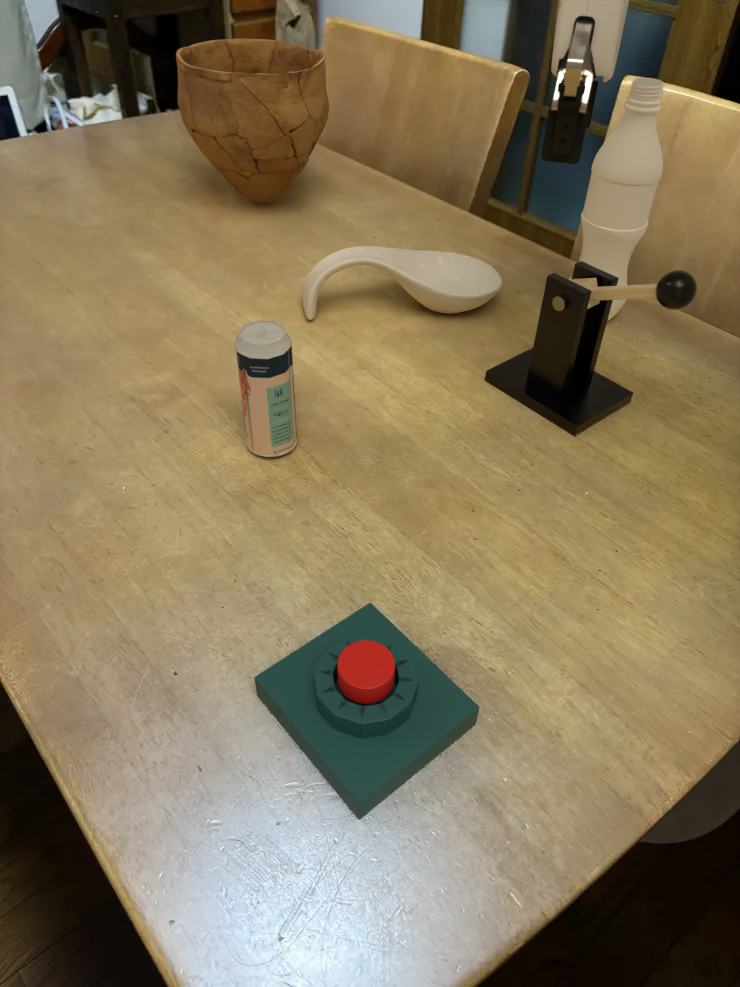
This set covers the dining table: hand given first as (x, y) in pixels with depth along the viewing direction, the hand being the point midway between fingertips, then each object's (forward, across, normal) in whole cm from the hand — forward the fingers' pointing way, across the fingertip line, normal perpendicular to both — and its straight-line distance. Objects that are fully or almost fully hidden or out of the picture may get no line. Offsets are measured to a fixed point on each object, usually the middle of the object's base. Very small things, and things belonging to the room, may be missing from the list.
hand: (566, 143), depth 67 cm
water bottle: (+23, +13, -6) cm, 27 cm away
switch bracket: (+23, -5, -4) cm, 23 cm away
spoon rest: (+22, +7, +16) cm, 28 cm away
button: (+19, -46, +4) cm, 50 cm away
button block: (+23, -46, +4) cm, 52 cm away
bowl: (+22, +30, +44) cm, 58 cm away
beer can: (+23, -22, +21) cm, 38 cm away
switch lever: (+11, -8, -8) cm, 16 cm away
